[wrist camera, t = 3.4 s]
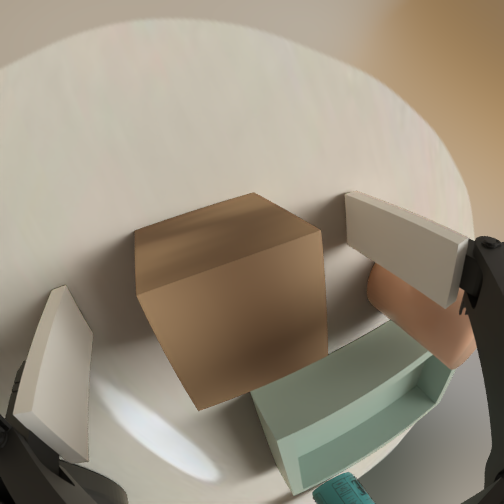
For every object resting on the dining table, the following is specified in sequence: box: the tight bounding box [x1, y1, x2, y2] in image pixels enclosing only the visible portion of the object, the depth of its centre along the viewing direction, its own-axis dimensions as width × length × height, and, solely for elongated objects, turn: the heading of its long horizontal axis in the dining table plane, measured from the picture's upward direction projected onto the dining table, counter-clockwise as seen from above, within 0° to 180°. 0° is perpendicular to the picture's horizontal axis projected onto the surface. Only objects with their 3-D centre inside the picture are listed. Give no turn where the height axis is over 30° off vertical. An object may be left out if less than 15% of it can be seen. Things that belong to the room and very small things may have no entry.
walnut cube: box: [135, 192, 328, 411], centre depth 11 cm, size 5×5×5 cm
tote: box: [250, 320, 456, 496], centre depth 20 cm, size 18×14×4 cm
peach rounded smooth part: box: [367, 262, 477, 370], centre depth 15 cm, size 5×5×7 cm
